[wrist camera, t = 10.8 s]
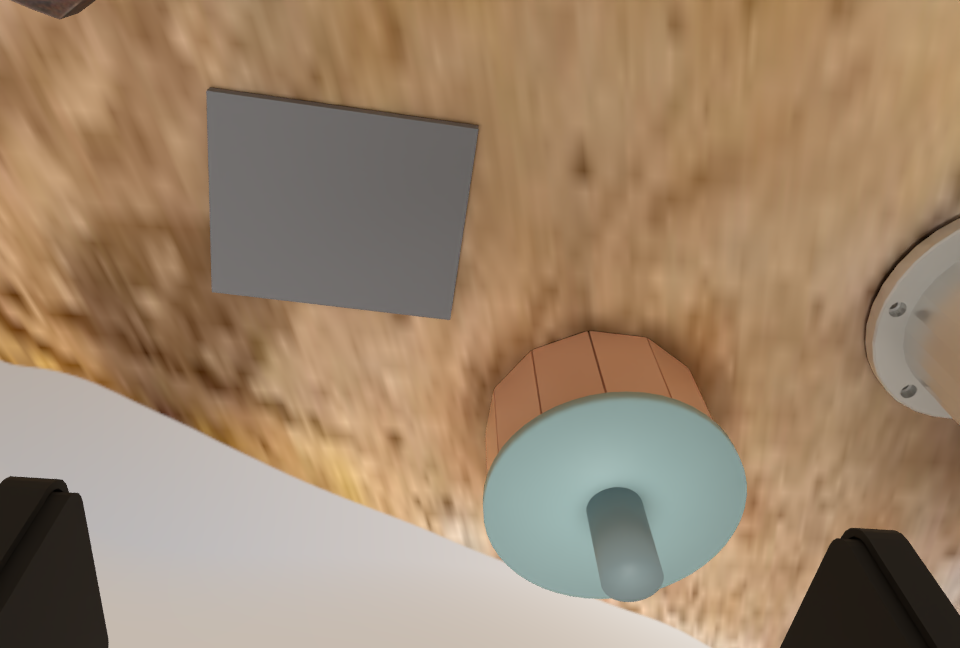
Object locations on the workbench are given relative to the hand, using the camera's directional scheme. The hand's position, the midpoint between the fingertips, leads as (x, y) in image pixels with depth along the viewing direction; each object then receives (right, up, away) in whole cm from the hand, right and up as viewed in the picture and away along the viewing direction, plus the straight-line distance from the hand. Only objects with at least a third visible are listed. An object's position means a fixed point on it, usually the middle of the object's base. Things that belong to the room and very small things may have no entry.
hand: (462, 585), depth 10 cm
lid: (+7, -5, +29) cm, 30 cm away
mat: (-7, +9, +27) cm, 29 cm away
